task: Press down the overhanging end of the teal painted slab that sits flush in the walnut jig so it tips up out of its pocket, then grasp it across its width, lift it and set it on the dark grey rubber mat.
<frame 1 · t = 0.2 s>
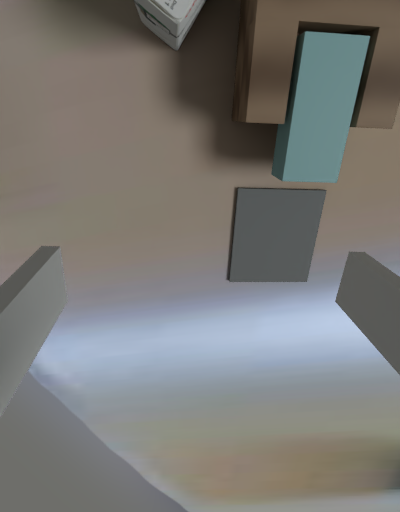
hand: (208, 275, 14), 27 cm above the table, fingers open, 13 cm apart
mat: (274, 237, 44), on the table
jig: (304, 45, 34), on the table
slab: (306, 114, 33), point 4 cm above the table, touching jig
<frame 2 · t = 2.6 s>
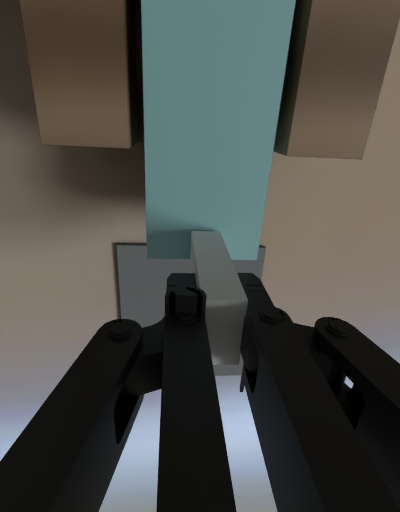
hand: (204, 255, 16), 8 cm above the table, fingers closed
mat: (189, 315, 28), on the table
slab: (203, 126, 17), point 4 cm above the table, touching gripper, jig
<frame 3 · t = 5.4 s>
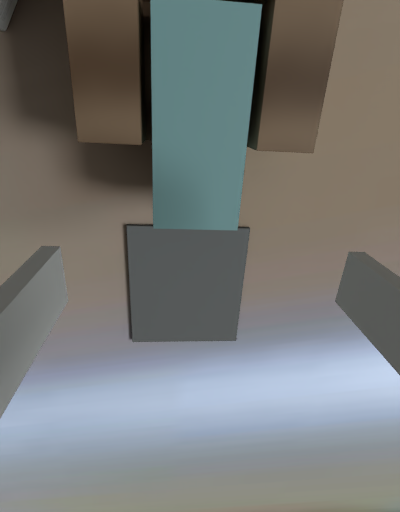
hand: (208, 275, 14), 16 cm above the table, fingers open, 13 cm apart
mat: (186, 287, 33), on the table
jig: (197, 27, 23), on the table
slab: (196, 128, 23), point 4 cm above the table, touching jig
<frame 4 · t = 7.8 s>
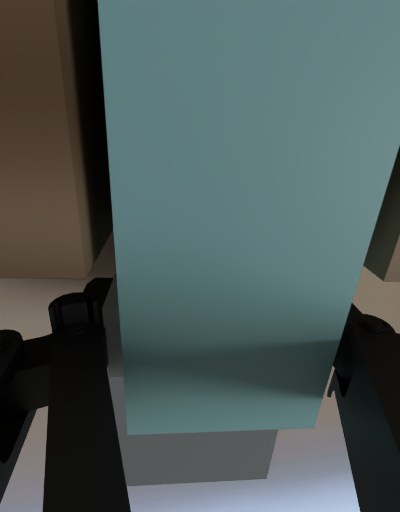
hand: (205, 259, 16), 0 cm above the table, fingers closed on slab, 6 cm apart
mat: (194, 415, 21), on the table
slab: (221, 199, 11), point 4 cm above the table, touching gripper, jig
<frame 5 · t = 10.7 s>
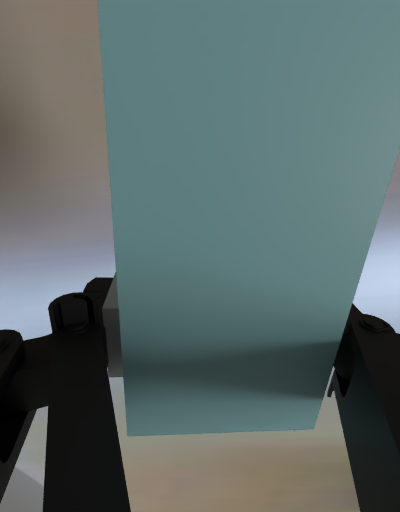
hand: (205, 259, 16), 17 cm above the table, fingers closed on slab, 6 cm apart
slab: (222, 200, 11), point 21 cm above the table, touching gripper
when the fingers open (1 cm above the table, at t = 13.9 s): slab drops 5 cm, resting on mat.
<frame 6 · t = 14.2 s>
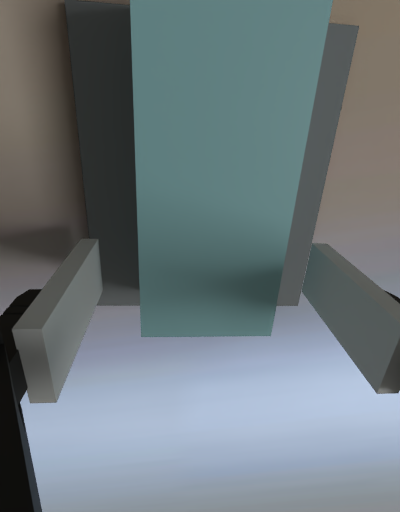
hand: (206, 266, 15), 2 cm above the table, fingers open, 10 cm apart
mat: (206, 185, 16), on the table
slab: (207, 177, 15), resting on mat
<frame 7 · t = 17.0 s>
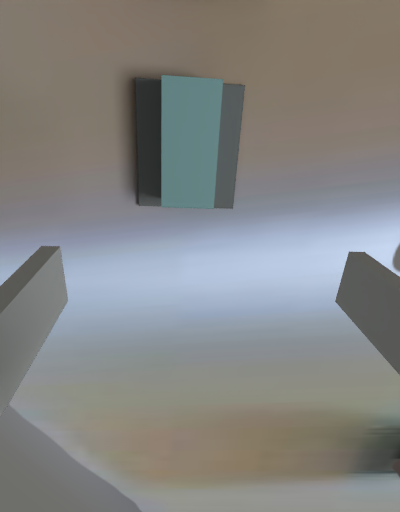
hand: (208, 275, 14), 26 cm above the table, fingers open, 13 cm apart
mat: (188, 149, 36), on the table
slab: (188, 145, 36), resting on mat
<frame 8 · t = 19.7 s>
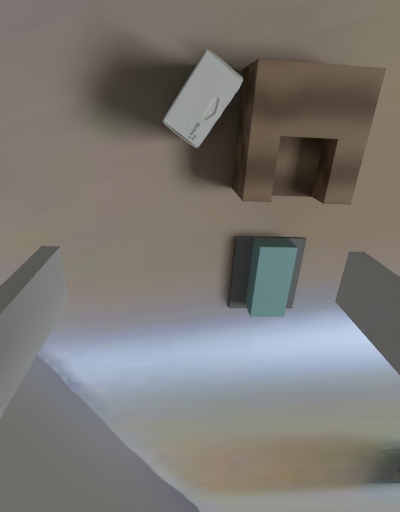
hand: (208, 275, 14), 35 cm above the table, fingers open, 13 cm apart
mat: (265, 273, 54), on the table
ink box: (195, 104, 42), on the table
jig: (287, 135, 45), on the table
slab: (266, 272, 54), resting on mat
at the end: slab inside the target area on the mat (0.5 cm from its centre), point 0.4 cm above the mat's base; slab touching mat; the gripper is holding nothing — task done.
